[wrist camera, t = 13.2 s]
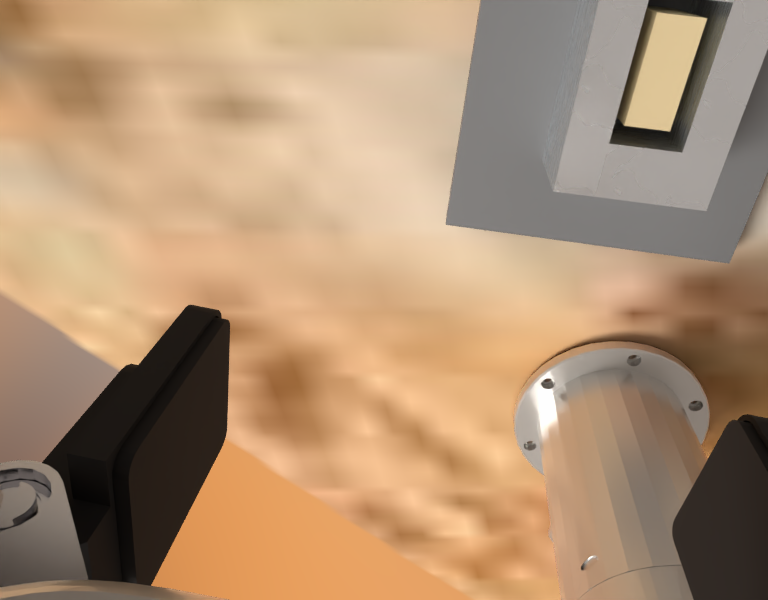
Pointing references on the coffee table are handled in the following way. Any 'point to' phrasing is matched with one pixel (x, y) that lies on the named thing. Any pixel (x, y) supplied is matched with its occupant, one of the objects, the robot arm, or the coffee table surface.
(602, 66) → the slotted block
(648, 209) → the grey piece
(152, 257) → the coffee table surface
